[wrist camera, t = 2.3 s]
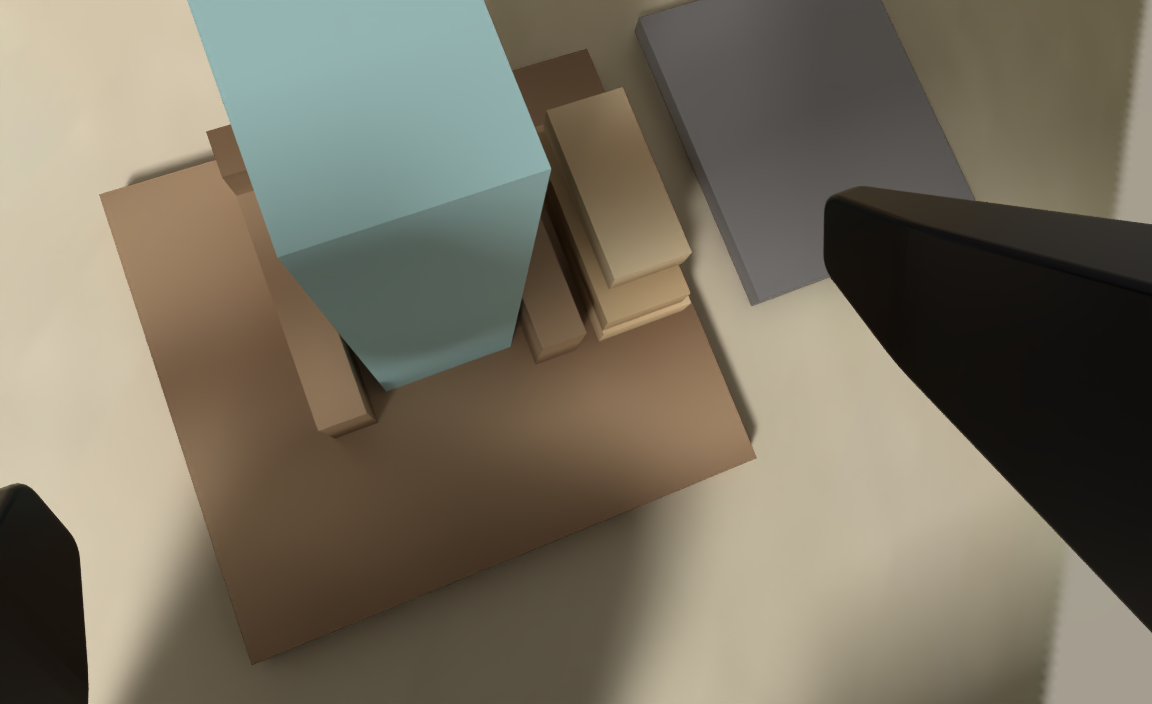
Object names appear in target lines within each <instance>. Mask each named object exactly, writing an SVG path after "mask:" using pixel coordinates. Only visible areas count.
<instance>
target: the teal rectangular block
mask: <svg viewBox="0 0 1152 704" xmlns="http://www.w3.org/2000/svg"><path fill="white" fill-rule="evenodd" d="M187 1H188V4H189V7H190V10H191V12H192V15H193V18H194V21H195V24H196V27H197V30H198V32H199V35H200V38H201V41H202V44H203V47H204V50H205V52H206V55H207V58H208V61H209V64H210V67H211V70H212V72H213V75H214V78H215V81H216V84H217V87H218V90H219V92H220V95H221V98H222V101H223V104H224V107H225V110H226V112H227V115H228V118H229V121H230V124H231V127H232V130H233V132H234V135H235V138H236V141H237V144H238V147H239V149H240V152H241V155H242V158H243V161H244V164H245V167H246V169H247V172H248V175H249V178H250V181H251V184H252V187H253V189H254V192H255V195H256V198H257V201H258V204H259V207H260V209H261V212H262V215H263V218H264V221H265V224H266V227H267V229H268V232H269V235H270V238H271V241H272V244H273V247H274V249H275V252H276V255H277V258H278V259H279V260H280V261H281V263H282V264H283V265H284V266H285V268H286V269H287V270H288V271H289V272H290V274H291V275H292V276H293V277H294V279H295V280H296V281H297V282H298V283H299V285H300V286H301V287H302V288H303V290H304V291H305V292H306V293H307V295H308V296H309V297H310V298H311V299H312V301H313V302H314V303H315V304H316V306H317V307H318V308H319V309H320V311H321V312H322V313H323V314H324V315H325V317H326V318H327V319H328V320H329V322H330V323H331V324H332V325H333V327H334V328H335V329H336V330H337V331H338V333H339V334H340V335H341V336H342V338H343V339H344V340H345V341H346V342H347V344H348V345H349V346H350V347H351V349H352V350H353V351H354V352H355V354H356V355H357V356H358V357H359V358H360V360H361V361H362V362H363V363H364V365H365V366H366V367H367V368H368V370H369V371H370V372H371V373H372V374H373V376H374V377H375V378H376V379H377V381H378V382H379V383H380V384H381V386H382V387H383V388H384V389H385V390H386V392H387V391H390V390H392V389H395V388H398V387H401V386H403V385H406V384H409V383H412V382H415V381H417V380H420V379H423V378H426V377H428V376H431V375H434V374H437V373H439V372H442V371H445V370H448V369H451V368H453V367H456V366H459V365H462V364H464V363H467V362H470V361H473V360H475V359H478V358H481V357H484V356H486V355H489V354H492V353H495V352H498V351H500V350H503V349H506V348H509V347H511V343H512V338H513V334H514V330H515V325H516V321H517V316H518V312H519V308H520V303H521V299H522V295H523V290H524V286H525V281H526V277H527V273H528V268H529V264H530V260H531V255H532V251H533V246H534V242H535V238H536V233H537V229H538V225H539V220H540V216H541V211H542V207H543V203H544V198H545V194H546V190H547V185H548V181H549V176H550V172H551V167H550V164H549V162H548V159H547V157H546V154H545V152H544V149H543V147H542V144H541V142H540V139H539V137H538V134H537V132H536V129H535V127H534V124H533V122H532V119H531V117H530V114H529V112H528V109H527V107H526V104H525V102H524V100H523V97H522V95H521V92H520V90H519V87H518V85H517V82H516V80H515V77H514V75H513V72H512V70H511V67H510V65H509V62H508V60H507V57H506V55H505V52H504V50H503V47H502V45H501V42H500V40H499V37H498V35H497V32H496V30H495V27H494V25H493V22H492V20H491V17H490V15H489V12H488V10H487V7H486V5H485V2H484V0H187Z"/></svg>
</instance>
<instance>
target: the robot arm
mask: <svg viewBox="0 0 1152 704" xmlns="http://www.w3.org/2000/svg"><path fill="white" fill-rule="evenodd" d="M823 258H824V264H825V267H826V270H827V272H828V274H829V276H830V277H831V279H832V280H833V282H834V283H835V284H836V285H837V287H838V288H839V289H840V291H841V292H842V293H843V295H844V296H845V297H846V299H847V300H848V301H849V303H850V304H851V305H852V307H853V308H854V309H855V311H856V312H857V313H858V315H859V316H860V317H861V319H862V320H863V321H864V323H865V324H866V325H867V326H868V328H869V329H870V330H871V332H872V333H873V334H874V336H875V337H876V338H877V340H878V341H879V342H880V344H881V345H882V346H883V348H884V349H885V350H886V352H887V353H888V354H889V355H890V356H891V358H892V359H893V360H894V361H895V363H896V364H897V365H898V366H899V367H900V368H901V369H902V371H903V372H904V373H905V374H906V375H907V376H908V377H909V378H910V379H911V381H912V382H913V383H914V384H915V385H916V386H917V387H918V388H919V389H920V390H921V391H922V392H923V393H924V394H925V395H926V396H927V397H928V398H929V399H930V400H931V402H932V403H933V404H934V405H935V406H936V407H937V408H938V409H939V410H940V411H941V412H942V413H943V414H944V415H945V416H946V417H947V418H948V419H949V420H950V421H951V423H952V424H953V425H954V426H955V427H956V428H957V429H958V430H959V431H960V432H961V433H962V434H963V435H964V436H965V437H966V438H967V439H968V440H969V441H970V442H971V444H972V445H973V446H974V447H975V448H976V449H977V450H978V451H979V452H980V453H981V454H982V455H983V456H984V457H985V458H986V459H987V460H988V461H989V462H990V463H991V464H992V466H993V467H994V468H995V469H996V470H997V471H998V472H999V473H1000V474H1001V475H1002V476H1003V477H1004V478H1005V479H1006V480H1007V481H1008V482H1009V483H1010V484H1011V485H1012V487H1013V488H1014V489H1015V490H1016V491H1017V492H1018V493H1019V494H1020V495H1021V496H1022V497H1023V498H1024V499H1025V500H1026V501H1027V502H1028V503H1029V504H1030V505H1031V506H1032V508H1033V509H1034V510H1035V511H1036V512H1037V513H1038V514H1039V515H1040V516H1041V517H1042V518H1043V519H1044V520H1045V521H1046V522H1047V523H1048V524H1049V525H1050V526H1051V527H1052V529H1053V530H1054V531H1055V532H1056V533H1057V534H1058V535H1059V536H1060V537H1061V538H1062V539H1063V540H1064V541H1065V542H1066V543H1067V544H1068V545H1069V546H1070V547H1071V548H1072V550H1073V551H1074V552H1075V553H1077V555H1078V556H1079V557H1080V558H1081V559H1082V560H1083V561H1084V562H1085V563H1086V564H1087V565H1088V566H1089V567H1090V568H1091V569H1092V571H1093V572H1095V574H1096V575H1097V576H1098V577H1099V578H1100V579H1101V580H1102V581H1103V582H1104V583H1105V584H1106V585H1107V586H1108V587H1109V588H1110V589H1111V590H1112V591H1113V593H1114V594H1115V595H1116V596H1117V597H1118V598H1119V599H1120V600H1121V601H1122V602H1123V603H1124V604H1125V605H1126V606H1127V607H1128V608H1129V609H1130V610H1131V611H1132V612H1133V614H1134V615H1135V616H1136V617H1137V618H1138V619H1139V620H1140V621H1141V622H1142V623H1143V624H1144V625H1145V626H1146V627H1147V628H1148V629H1149V630H1150V631H1151V632H1152V224H1144V223H1137V222H1129V221H1122V220H1115V219H1107V218H1100V217H1093V216H1085V215H1078V214H1070V213H1063V212H1055V211H1048V210H1040V209H1033V208H1025V207H1018V206H1011V205H1003V204H996V203H988V202H981V201H973V200H966V199H958V198H951V197H943V196H936V195H929V194H921V193H914V192H906V191H899V190H891V189H884V188H876V187H869V186H856V187H853V188H850V189H847V190H845V191H842V192H839V193H836V194H834V195H831V196H830V197H829V198H828V199H827V201H826V203H825V206H824V235H823ZM88 691H89V687H88V663H87V649H86V635H85V622H84V608H83V594H82V580H81V567H80V556H79V551H78V547H77V544H76V542H75V540H74V538H73V536H72V535H71V533H70V532H69V531H68V530H67V528H66V527H65V526H64V525H63V524H62V523H61V521H60V520H59V519H58V518H57V517H56V516H55V514H54V513H53V512H52V511H51V510H50V508H49V507H48V506H47V505H46V504H45V503H44V501H43V500H42V499H41V498H40V497H39V496H38V494H37V493H36V492H35V491H34V490H33V489H32V488H30V487H29V486H27V485H25V484H19V483H16V484H12V485H9V486H6V487H3V488H0V704H88Z"/></svg>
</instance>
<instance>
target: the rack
mask: <svg viewBox="0 0 1152 704" xmlns="http://www.w3.org/2000/svg"><path fill="white" fill-rule="evenodd" d="M512 72H513V75H514V77H515V80H516V82H517V85H518V87H519V90H520V92H521V95H522V97H523V100H524V102H525V104H526V107H527V109H528V112H529V114H530V117H531V119H532V122H533V124H534V127H535V129H536V132H537V134H538V137H539V139H540V142H541V144H542V147H543V149H544V152H545V154H546V157H547V159H548V162H549V164H550V167H551V172H550V176H549V181H548V185H547V190H546V194H545V198H544V203H543V207H542V211H541V216H540V220H539V225H538V229H537V233H536V238H535V242H534V246H533V251H532V255H531V260H530V264H529V268H528V273H527V277H526V281H525V286H524V290H523V295H522V299H521V303H520V308H519V312H518V316H517V321H516V325H515V330H514V334H513V338H512V343H511V347H509V348H506V349H503V350H500V351H498V352H495V353H492V354H489V355H486V356H484V357H481V358H478V359H475V360H473V361H470V362H467V363H464V364H462V365H459V366H456V367H453V368H451V369H448V370H445V371H442V372H439V373H437V374H434V375H431V376H428V377H426V378H423V379H420V380H417V381H415V382H412V383H409V384H406V385H403V386H401V387H398V388H395V389H392V390H390V391H387V392H386V390H385V389H384V388H383V387H382V386H381V384H380V383H379V382H378V381H377V379H376V378H375V377H374V376H373V374H372V373H371V372H370V371H369V370H368V368H367V367H366V366H365V365H364V363H363V362H362V361H361V360H360V358H359V357H358V356H357V355H356V354H355V352H354V351H353V350H352V349H351V347H350V346H349V345H348V344H347V342H346V341H345V340H344V339H343V338H342V336H341V335H340V334H339V333H338V331H337V330H336V329H335V328H334V327H333V325H332V324H331V323H330V322H329V320H328V319H327V318H326V317H325V315H324V314H323V313H322V312H321V311H320V309H319V308H318V307H317V306H316V304H315V303H314V302H313V301H312V299H311V298H310V297H309V296H308V295H307V293H306V292H305V291H304V290H303V288H302V287H301V286H300V285H299V283H298V282H297V281H296V280H295V279H294V277H293V276H292V275H291V274H290V272H289V271H288V270H287V269H286V268H285V266H284V265H283V264H282V263H281V261H280V260H279V259H278V258H277V255H276V252H275V249H274V247H273V244H272V241H271V238H270V235H269V232H268V229H267V227H266V224H265V221H264V218H263V215H262V212H261V209H260V207H259V204H258V201H257V198H256V195H255V192H254V189H253V187H252V184H251V181H250V178H249V175H248V172H247V169H246V167H245V164H244V161H243V158H242V155H241V152H240V149H239V147H238V144H237V141H236V138H235V135H234V132H233V130H232V127H231V125H227V126H224V127H220V128H217V129H214V130H210V131H207V132H206V133H207V136H208V139H209V141H210V144H211V147H212V150H213V153H214V156H215V159H216V160H213V161H210V162H206V163H203V164H200V165H196V166H193V167H190V168H186V169H183V170H180V171H176V172H173V173H170V174H166V175H163V176H160V177H156V178H153V179H150V180H146V181H143V182H140V183H136V184H133V185H129V186H126V187H123V188H119V189H116V190H113V191H109V192H106V193H103V194H99V195H100V198H101V201H102V205H103V208H104V211H105V214H106V217H107V220H108V223H109V226H110V229H111V232H112V235H113V238H114V242H115V245H116V248H117V251H118V254H119V257H120V260H121V263H122V266H123V269H124V272H125V275H126V279H127V282H128V285H129V288H130V291H131V294H132V297H133V300H134V303H135V306H136V309H137V312H138V316H139V319H140V322H141V325H142V328H143V331H144V334H145V337H146V340H147V343H148V346H149V349H150V353H151V356H152V359H153V362H154V365H155V368H156V371H157V374H158V377H159V380H160V383H161V386H162V389H163V393H164V396H165V399H166V402H167V405H168V408H169V411H170V414H171V417H172V420H173V423H174V426H175V430H176V433H177V436H178V439H179V442H180V445H181V448H182V451H183V454H184V457H185V460H186V463H187V467H188V470H189V473H190V476H191V479H192V482H193V485H194V488H195V491H196V494H197V497H198V500H199V504H200V507H201V510H202V513H203V516H204V519H205V522H206V525H207V528H208V531H209V534H210V537H211V541H212V544H213V547H214V550H215V553H216V556H217V559H218V562H219V565H220V568H221V571H222V574H223V578H224V581H225V584H226V587H227V590H228V593H229V596H230V599H231V602H232V605H233V608H234V611H235V615H236V618H237V621H238V624H239V627H240V630H241V633H242V636H243V639H244V642H245V645H246V648H247V652H248V655H249V658H250V661H251V664H252V665H253V664H256V663H258V662H260V661H263V660H265V659H268V658H270V657H273V656H275V655H278V654H280V653H282V652H285V651H287V650H290V649H292V648H295V647H297V646H299V645H302V644H304V643H307V642H309V641H312V640H314V639H317V638H319V637H321V636H324V635H326V634H329V633H331V632H334V631H336V630H339V629H341V628H343V627H346V626H348V625H351V624H353V623H356V622H358V621H360V620H363V619H365V618H368V617H370V616H373V615H375V614H378V613H380V612H382V611H385V610H387V609H390V608H392V607H395V606H397V605H400V604H402V603H404V602H407V601H409V600H412V599H414V598H417V597H419V596H421V595H424V594H426V593H429V592H431V591H434V590H436V589H439V588H441V587H443V586H446V585H448V584H451V583H453V582H456V581H458V580H461V579H463V578H465V577H468V576H470V575H473V574H475V573H478V572H480V571H482V570H485V569H487V568H490V567H492V566H495V565H497V564H500V563H502V562H504V561H507V560H509V559H512V558H514V557H517V556H519V555H522V554H524V553H526V552H529V551H531V550H534V549H536V548H539V547H541V546H543V545H546V544H548V543H551V542H553V541H556V540H558V539H561V538H563V537H565V536H568V535H570V534H573V533H575V532H578V531H580V530H583V529H585V528H587V527H590V526H592V525H595V524H597V523H600V522H602V521H604V520H607V519H609V518H612V517H614V516H617V515H619V514H622V513H624V512H626V511H629V510H631V509H634V508H636V507H639V506H641V505H644V504H646V503H648V502H651V501H653V500H656V499H658V498H661V497H663V496H665V495H668V494H670V493H673V492H675V491H678V490H680V489H683V488H685V487H687V486H690V485H692V484H695V483H697V482H700V481H702V480H705V479H707V478H709V477H712V476H714V475H717V474H719V473H722V472H724V471H726V470H729V469H731V468H734V467H736V466H739V465H741V464H744V463H746V462H748V461H751V460H753V459H756V458H757V457H756V455H755V452H754V450H753V448H752V445H751V443H750V440H749V438H748V436H747V433H746V431H745V428H744V426H743V424H742V421H741V419H740V416H739V414H738V412H737V409H736V407H735V404H734V402H733V400H732V397H731V395H730V392H729V390H728V388H727V385H726V383H725V380H724V378H723V375H722V373H721V371H720V368H719V366H718V363H717V361H716V359H715V356H714V354H713V351H712V349H711V347H710V344H709V342H708V339H707V337H706V335H705V332H704V330H703V327H702V325H701V323H700V320H699V318H698V315H697V313H696V311H695V308H694V306H693V303H692V301H691V299H690V296H689V294H690V290H689V288H688V286H687V283H686V281H685V278H684V276H683V274H682V271H681V269H680V266H679V264H681V263H683V262H684V261H685V260H686V259H687V258H688V256H689V255H690V254H691V253H692V251H691V249H690V247H689V244H688V242H687V239H686V237H685V235H684V232H683V230H682V227H681V225H680V223H679V220H678V218H677V216H676V213H675V211H674V208H673V206H672V204H671V201H670V199H669V196H668V194H667V192H666V189H665V187H664V184H663V182H662V180H661V177H660V175H659V173H658V170H657V168H656V165H655V163H654V161H653V158H652V156H651V153H650V151H649V149H648V146H647V144H646V142H645V139H644V137H643V134H642V132H641V130H640V127H639V125H638V122H637V120H636V118H635V115H634V113H633V111H632V108H631V106H630V103H629V101H628V99H627V96H626V94H625V91H624V89H623V87H621V88H618V89H614V90H611V91H608V92H604V89H603V87H602V84H601V82H600V80H599V77H598V75H597V72H596V70H595V68H594V65H593V63H592V60H591V58H590V56H589V53H588V51H587V49H584V50H581V51H578V52H574V53H571V54H568V55H564V56H561V57H558V58H554V59H551V60H548V61H544V62H541V63H538V64H534V65H531V66H527V67H524V68H521V69H517V70H514V71H512Z"/></svg>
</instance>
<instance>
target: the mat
mask: <svg viewBox="0 0 1152 704" xmlns="http://www.w3.org/2000/svg"><path fill="white" fill-rule="evenodd" d="M635 33H636V35H637V38H638V40H639V42H640V45H641V47H642V49H643V52H644V54H645V56H646V59H647V61H648V63H649V66H650V68H651V70H652V73H653V75H654V77H655V80H656V82H657V85H658V87H659V89H660V92H661V94H662V96H663V99H664V101H665V103H666V106H667V108H668V110H669V113H670V115H671V117H672V120H673V122H674V125H675V127H676V129H677V132H678V134H679V136H680V139H681V141H682V143H683V146H684V148H685V150H686V153H687V155H688V157H689V160H690V162H691V165H692V167H693V169H694V172H695V174H696V176H697V179H698V181H699V183H700V186H701V188H702V190H703V193H704V195H705V197H706V200H707V202H708V205H709V207H710V209H711V212H712V214H713V216H714V219H715V221H716V223H717V226H718V228H719V230H720V233H721V235H722V237H723V240H724V242H725V244H726V247H727V249H728V252H729V254H730V256H731V259H732V261H733V263H734V266H735V268H736V270H737V273H738V275H739V277H740V280H741V282H742V284H743V287H744V289H745V292H746V294H747V296H748V299H749V301H750V303H751V306H754V305H756V304H759V303H762V302H764V301H767V300H770V299H772V298H775V297H778V296H780V295H783V294H786V293H788V292H791V291H794V290H796V289H799V288H802V287H805V286H807V285H810V284H813V283H815V282H818V281H821V280H823V279H826V278H829V277H830V276H829V274H828V272H827V270H826V267H825V264H824V258H823V235H824V206H825V203H826V201H827V199H828V198H829V197H830V196H831V195H834V194H836V193H839V192H842V191H845V190H847V189H850V188H853V187H856V186H869V187H876V188H884V189H891V190H899V191H906V192H914V193H921V194H929V195H936V196H943V197H951V198H958V199H966V200H973V201H975V199H974V197H973V195H972V193H971V190H970V188H969V186H968V184H967V182H966V180H965V178H964V176H963V173H962V171H961V169H960V167H959V165H958V163H957V161H956V159H955V156H954V154H953V152H952V150H951V148H950V146H949V144H948V142H947V139H946V137H945V135H944V133H943V131H942V129H941V127H940V124H939V122H938V120H937V118H936V116H935V114H934V112H933V110H932V107H931V105H930V103H929V101H928V99H927V97H926V95H925V93H924V90H923V88H922V86H921V84H920V82H919V80H918V78H917V76H916V73H915V71H914V69H913V67H912V65H911V63H910V61H909V58H908V56H907V54H906V52H905V50H904V48H903V46H902V44H901V41H900V39H899V37H898V35H897V33H896V31H895V29H894V27H893V24H892V22H891V20H890V18H889V16H888V14H887V12H886V10H885V7H884V5H883V3H882V1H881V0H698V1H695V2H691V3H688V4H685V5H681V6H678V7H674V8H671V9H668V10H664V11H661V12H658V13H654V14H651V15H647V16H644V17H641V18H639V20H638V23H637V26H636V29H635Z"/></svg>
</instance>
